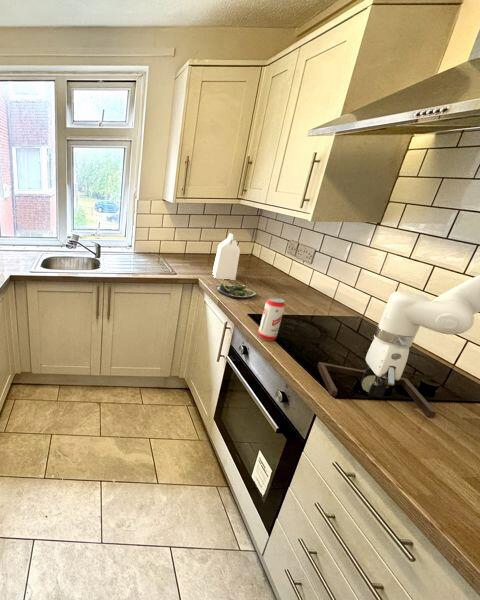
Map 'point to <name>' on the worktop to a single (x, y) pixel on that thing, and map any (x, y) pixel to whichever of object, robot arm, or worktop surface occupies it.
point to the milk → (226, 259)
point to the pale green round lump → (368, 382)
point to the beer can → (271, 318)
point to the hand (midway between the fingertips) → (370, 390)
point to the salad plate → (235, 291)
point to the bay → (359, 373)
